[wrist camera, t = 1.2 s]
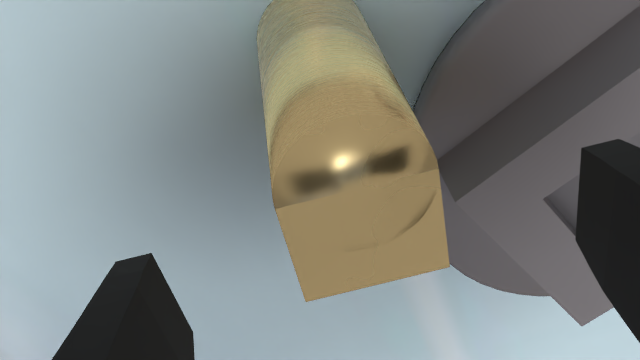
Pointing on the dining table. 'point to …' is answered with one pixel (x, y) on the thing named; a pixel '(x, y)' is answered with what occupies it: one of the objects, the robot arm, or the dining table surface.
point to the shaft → (345, 153)
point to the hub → (529, 137)
